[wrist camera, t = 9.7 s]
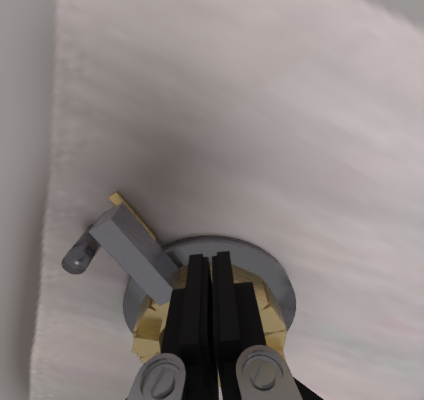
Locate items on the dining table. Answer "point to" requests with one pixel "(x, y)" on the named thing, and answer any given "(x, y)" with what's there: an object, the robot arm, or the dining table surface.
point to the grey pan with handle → (169, 281)
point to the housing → (179, 253)
